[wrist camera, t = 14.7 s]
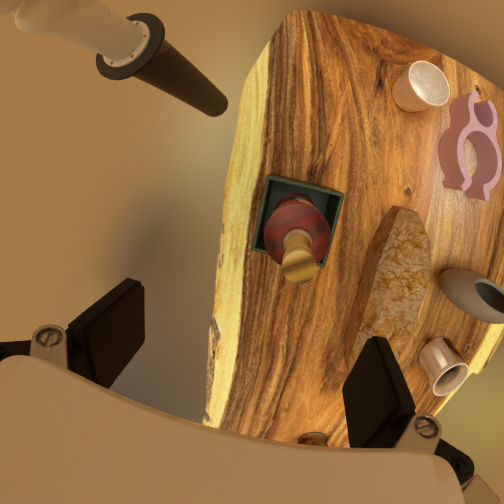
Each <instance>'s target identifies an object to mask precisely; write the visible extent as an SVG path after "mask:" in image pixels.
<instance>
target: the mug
mask: <svg viewBox="0 0 504 504" xmlns="http://www.w3.org/2000/svg"><path fill="white" fill-rule="evenodd" d="M418 361H419V364H420V366H421V368H422V370H423V372H424V374H425V376H426V378H427V380H428V382H429V384H430V387H431V389H432V391H433V393H434V394H435V395H437V396H443V395H447V394H449V393H451V392H453V391H454V390H456V389H457V388H458V387H459V386H460V385H461V384H462V383H463V382H464V381H465V379H466V377H467V375H468V372H469V368H468V365H467V364H466V362H465V361H464V359H463V358H462V356H461V355H460V353H459V352H458V351H457V349H456V348H455V346H454V345H453V344H452V342H451V341H450V339H448V338H447V337H437V338H435V339H433V340H431V341H430V342H428V343H427V344H426V345H425V346H424V348H423V349H422V350H421V352H420V355H419V360H418Z"/></svg>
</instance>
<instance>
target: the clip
mask: <svg viewBox="0 0 504 504" xmlns="http://www.w3.org/2000/svg"><path fill="white" fill-rule="evenodd" d="M476 99H479V94H478V92H472V93H469V94H467V95H464V96H461V97H458V98H455V99H454V100H453V101H452V103H451V106H450V114H451V119H452V122H451V126H450V128H449V129H448V130H446V131H445V132H444V134H443V135H442V137H441V140H440V143H439V160H440V164H441V167H442V170H443V172H444V174H445V175H446V179H445V180H444V181H443V186H444V187H446V188H451V189H456V190H461V191H465V192H466V195H467V196H468V197H472V198H476V199H480V200H484V201H489V200H490V195H489V191H490V190H491V189H492V188H493V187H494V186H495V185H496V184H497V182H498V180H499V178H500V174H501V169H502V158H501V152H500V149H499V146H498V143H497V140H496V129H497V125H498V118H497V113H496V110H495V107H494V105H493V103H492V102H491V100H487V101H483V102H479V103H475V104H474V102H475V100H476ZM466 137H468V138H469V139H470V140H471V141H472V143H473V144H474V146H475V148H476V151H477V155H478V167H477V171H476V173H475V175H474V176H473V177H472V178H471V176H470V175H469V173H468V171H467V169H466V167H465V164H464V159H463V145H464V141H465V139H466Z"/></svg>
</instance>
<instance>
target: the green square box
mask: <svg viewBox="0 0 504 504" xmlns="http://www.w3.org/2000/svg"><path fill="white" fill-rule="evenodd" d="M292 192H299V193H303V194H305V195H307V196H308V197H309V198H310V199H311V200H312V201H313V203H314V205H315V208H316V209H317V210H318V211H319V212H320V213H321V214H322V215H323V216H324V217H325V219H326V220H327V222H328V224H329V227H330V231H331V242H330V247H331V243H332V240H333V236H334V233H335V229H336V225H337V221H338V218H339V214H340V210H341V206H342V202H343V197H344V194H343V193H341V192H339V191H337V190H335V189H333V188H329V187H325V186H321V185H317V184H313V183H309V182H305V181H301V180H297V179H292V178H288V177H284V176H279V175H274V174H270V175H267V176H266V181H265V185H264V190H263V195H262V200H261V205H260V210H259V214H258V219H257V224H256V229H255V234H254V239H253V243H252V248H251V250H252V251H256V252H260V253H264V254H269V253H268V252H267V250H266V247H265V244H264V229H265V226H266V223H267V222H268V220H269V218H270V217H271V216H272V214H273V213H274V211H275V210H276V206H277V203H278V202H279V200H280V199H281V198H282V197H283V196H284V195H286V194H288V193H292ZM330 247H329V249H328V252H327V253H326V255H325V256H324V257H323V258H322V260H321V261H320V262H318V263H317V266H320V267H325V264H326V261H327V257H328V254H329V250H330Z"/></svg>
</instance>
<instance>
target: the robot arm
mask: <svg viewBox="0 0 504 504" xmlns="http://www.w3.org/2000/svg"><path fill="white" fill-rule="evenodd" d="M19 6H20V7H19ZM18 7H19V9H18V10H17V13H16V15H15V25H16V27H17V28H18V29H19V30H21V31H23V32H26V33H31V34H42V35H50V36H54V37H58V38H62V39H64V40H67V41H70V42H72V43H75V44H77V45H80V46H82V47H85V48H87V49H90V50H92V51H94V52H97V53H99V54H101V55H103V59H104V61H105V63H106V64H108V65H109V66H111V67H115V68H116V67H123V66H126V65H128V64H130V63H132V62H133V61H134V60H136V59H137V58H138V57H139V56H140V55H141V54H142V53H143V51H144V50H145V48H146V47H147V45H148V43H149V40H150V29H149V27H148V26H147V25H146V24H145V23H144V22H141V21H129V20H128V19H127V18H125V17H124V16H122V15H120V14H119V13H118V12H116V11H115V10H114V9H112V8H110V7H109V6H107V5H106V4H104V3H103V2H101V1H100V0H0V17H5V16H8V15H9V14H11V13H13V12H14V11H15V10H16V9H17V8H18ZM144 320H145V318H144V287H143V286H141V283H140V281H137V280H133V279H130V278H127V279H125V280H124V281H123V282H121V283H120V284H119V285H117V286H116V287H115V288H114V289H112V290H111V291H110V292H108V293H107V294H106V295H105V296H103V297H102V298H101V299H100V300H98V301H97V302H96V303H94V304H93V305H92V306H90V307H89V308H88V309H87V310H86V311H84V312H83V313H82V314H81V315H79V316H78V317H77V318H76V319H75V320H73V321H72V322H71V323H70V324H68V327H69V328H68V329H67V330H64V329H63V328H61V327H60V326H57V325H45V326H42V327H39V328H38V329H37V330H36V331H35V332H34V333H33V336H32V340H27V341H14V342H0V504H500V501H499V498H498V496H497V495H496V494H495V493H494V492H493V491H492V489H490V487H489V486H488V485H487V484H486V483H485V482H484V481H483V480H482V479H481V477H480V476H479V475H478V474H476V475H475V476H474V475H473V474H474V464H473V461H472V460H471V459H470V457H469V456H467V455H466V454H464V453H463V452H461V451H460V450H458V449H456V448H455V447H453V446H452V445H450V444H448V443H447V442H445V441H444V440H442V439H441V438H440V437H441V433H442V428H441V425H440V423H439V421H438V420H437V419H436V418H435V417H433V416H432V415H430V414H428V413H417V414H416V413H415V410H414V409H415V408H416V406H415V404H414V401H413V399H412V396H411V393H410V391H409V388H408V386H407V384H406V381H405V379H404V376H403V374H402V371H401V369H400V367H399V364H398V362H397V360H396V358H395V355H394V353H393V351H392V349H391V346H390V344H389V342H388V340H387V338H385V337H380V336H372V337H371V339H370V338H369V339H367V341H366V342H365V344H364V347H363V349H362V351H361V353H360V355H359V357H358V358H357V360H356V362H355V364H354V366H353V368H352V370H351V372H350V374H349V375H348V377H347V379H346V381H345V383H344V385H343V389H342V393H343V399H344V406H345V413H346V421H347V428H348V436H349V445H350V448H344V447H326V446H314V445H304V444H295V443H288V442H281V441H274V440H268V439H262V438H257V437H252V436H247V435H242V434H237V433H233V432H229V431H225V430H221V429H217V428H213V427H209V426H206V425H202V424H199V423H195V422H192V421H189V420H186V419H182V418H179V417H176V416H173V415H170V414H167V413H164V412H162V411H159V410H156V409H154V408H151V407H148V406H146V405H143V404H141V403H138V402H136V401H133V400H131V399H129V398H126V397H124V396H122V395H120V394H118V393H115V392H113V391H111V390H109V388H110V386H111V385H112V384H113V382H114V381H115V379H116V378H117V377H118V376H119V374H120V373H121V372H122V371H123V369H124V368H125V367H126V365H127V364H128V363H129V361H130V360H131V359H132V358H133V356H134V355H135V354H136V352H137V351H138V350H139V349H140V347H141V346H142V344H143V343H144V340H145V321H144Z"/></svg>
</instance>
